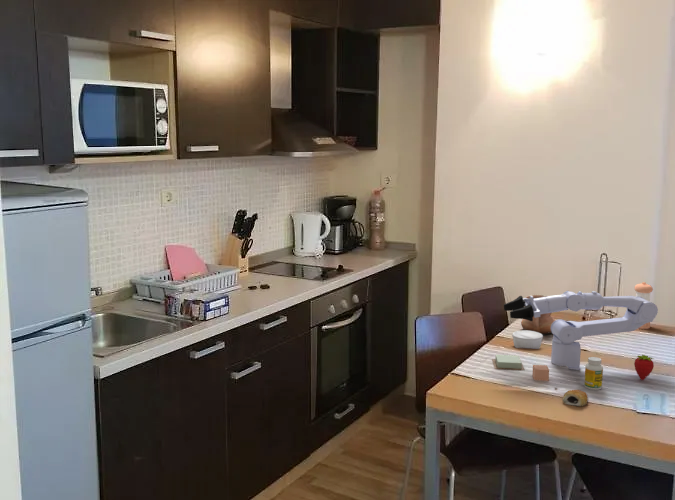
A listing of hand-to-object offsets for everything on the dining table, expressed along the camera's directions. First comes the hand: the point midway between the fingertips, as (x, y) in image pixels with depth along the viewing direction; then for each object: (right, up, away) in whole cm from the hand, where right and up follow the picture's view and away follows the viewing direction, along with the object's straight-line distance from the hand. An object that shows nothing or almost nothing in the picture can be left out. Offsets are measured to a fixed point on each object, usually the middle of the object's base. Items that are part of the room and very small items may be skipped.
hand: (507, 311), depth 240 cm
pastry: (+14, -25, -28) cm, 40 cm away
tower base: (+1, -21, +2) cm, 21 cm away
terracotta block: (+8, -22, -11) cm, 26 cm away
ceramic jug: (+24, -13, +45) cm, 53 cm away
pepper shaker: (+69, -11, +54) cm, 89 cm away
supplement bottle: (+24, -23, -16) cm, 37 cm away
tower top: (+1, -19, +1) cm, 19 cm away
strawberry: (+43, -22, -9) cm, 49 cm away
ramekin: (+13, -16, +25) cm, 32 cm away
